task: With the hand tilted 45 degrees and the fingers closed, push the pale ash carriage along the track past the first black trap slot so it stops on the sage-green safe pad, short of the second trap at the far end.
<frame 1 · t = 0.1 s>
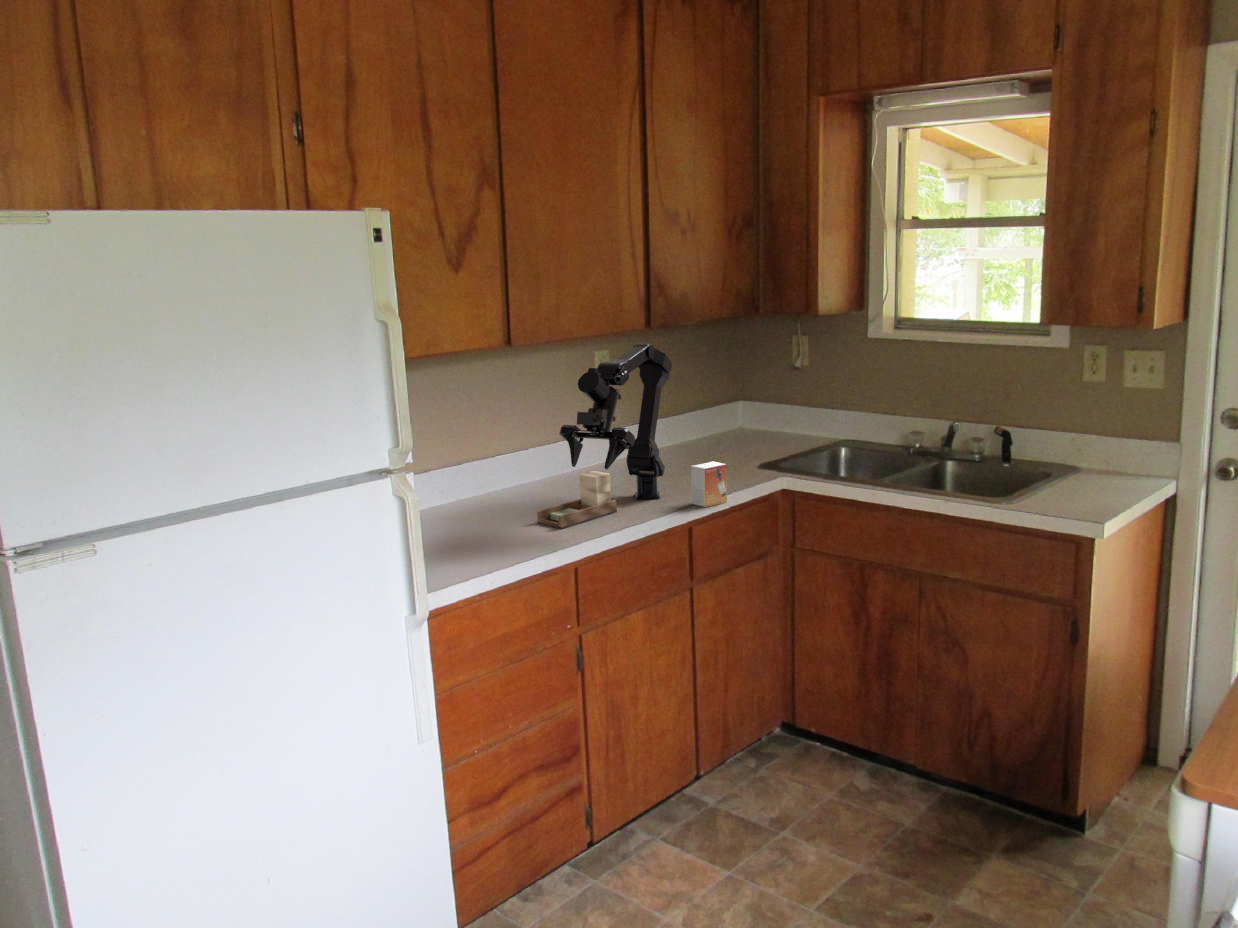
hand: (589, 467, 254), 15 cm above the worktop, tool tilted 35°, fingers open, 9 cm apart
track: (577, 517, 266), on the worktop
carriage: (595, 489, 269), point 6 cm above the worktop, slide at 0.0 cm
small box: (709, 504, 275), on the worktop
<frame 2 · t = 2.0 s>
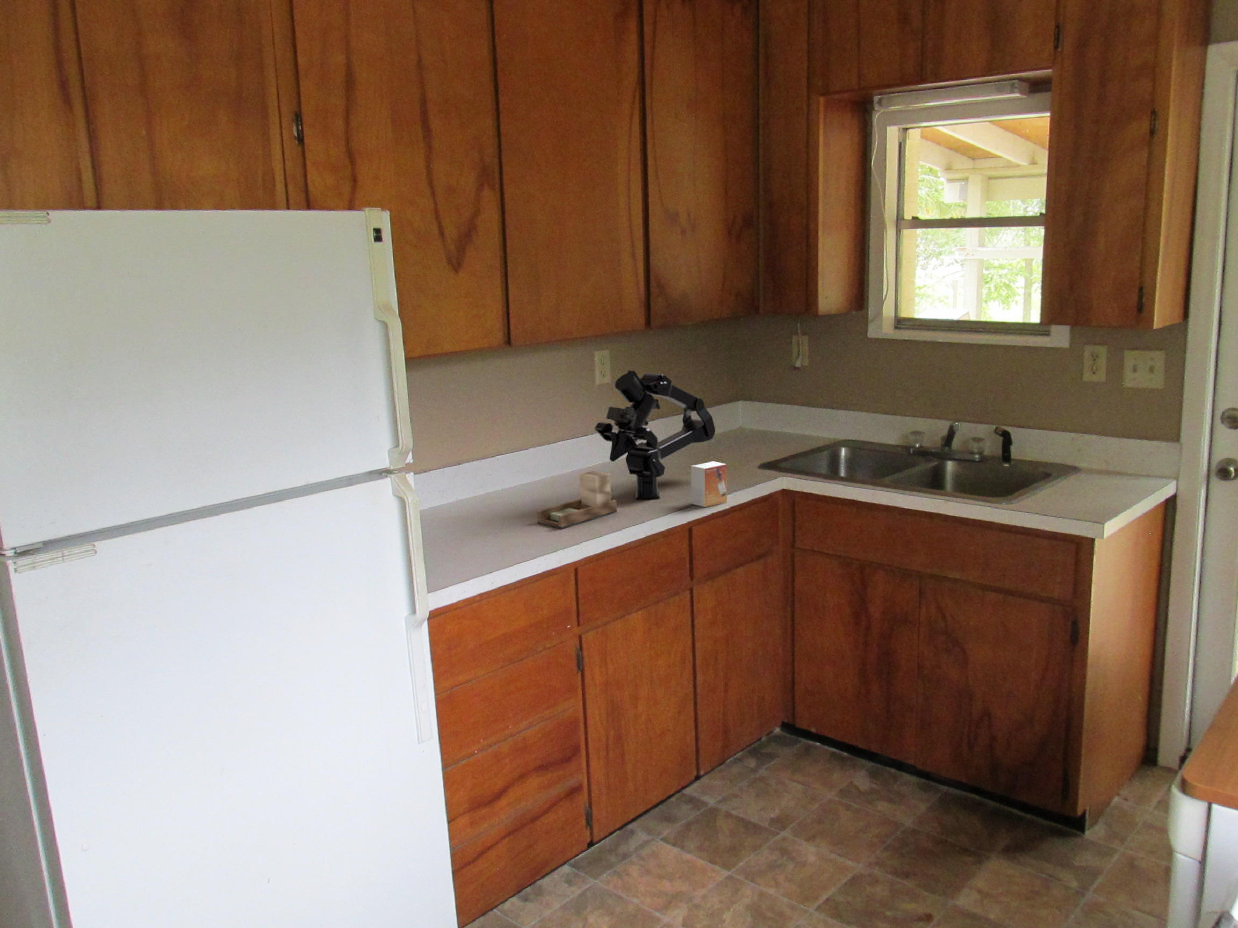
hand: (611, 460, 272), 13 cm above the worktop, tool tilted 45°, fingers closed
nothing on the worktop moved.
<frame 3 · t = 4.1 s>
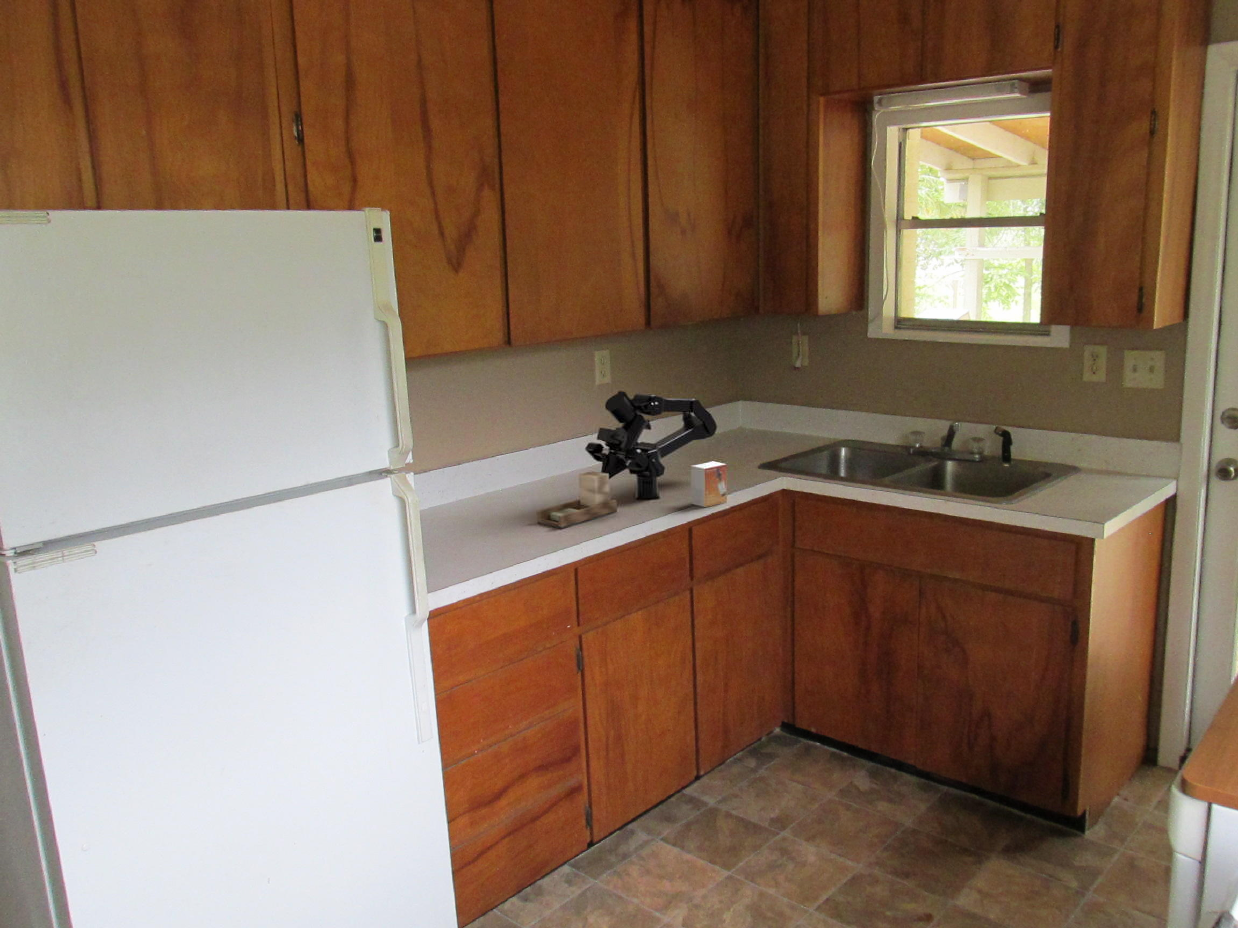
hand: (601, 481, 271), 8 cm above the worktop, tool tilted 45°, fingers closed, pressing on carriage
carriage: (594, 489, 269), point 6 cm above the worktop, slide at 0.4 cm, touching gripper
everything else where it was.
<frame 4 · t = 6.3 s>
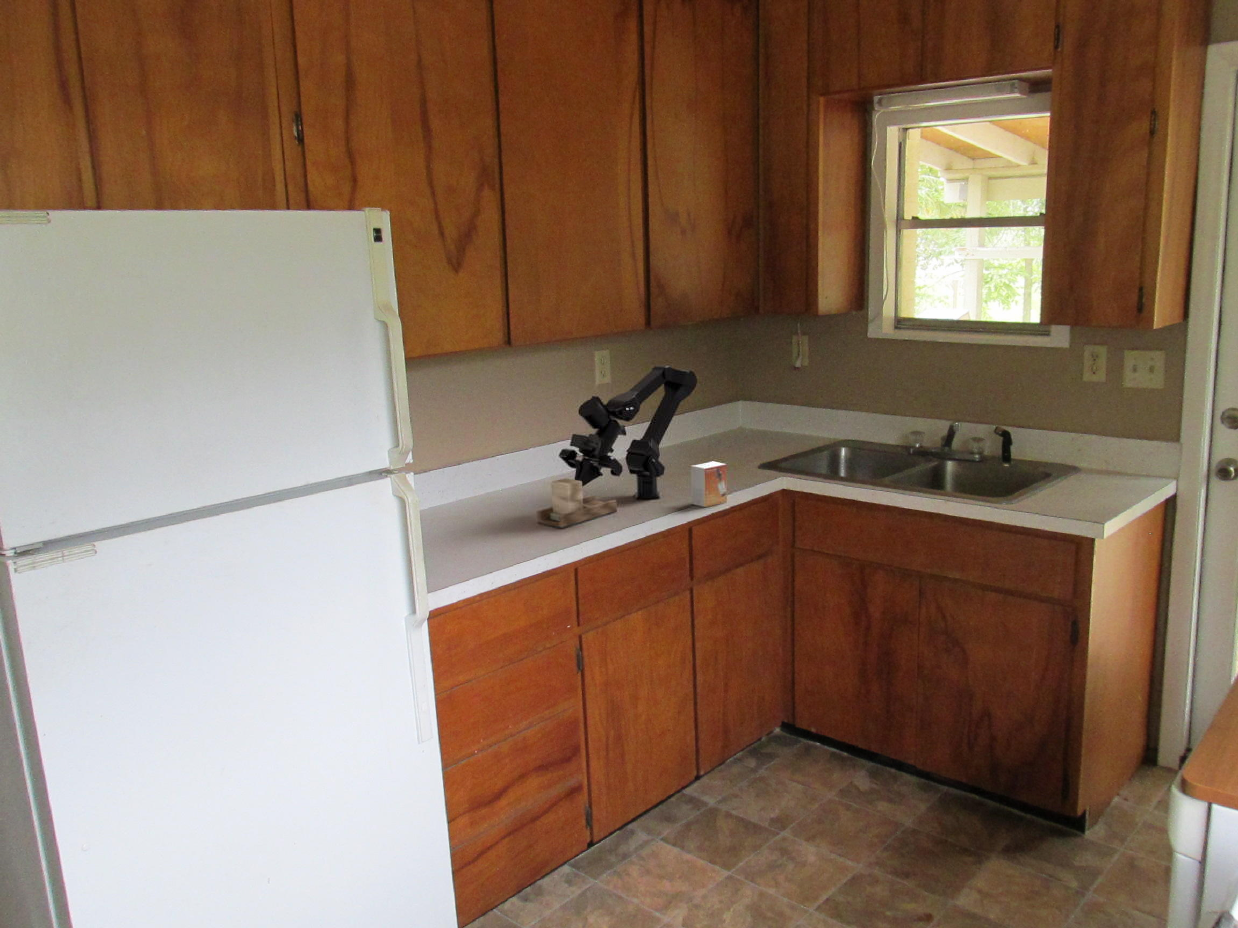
hand: (574, 489, 264), 8 cm above the worktop, tool tilted 45°, fingers closed, pressing on carriage
carriage: (567, 496, 262), point 6 cm above the worktop, slide at 10.0 cm, touching gripper
everything else where it was.
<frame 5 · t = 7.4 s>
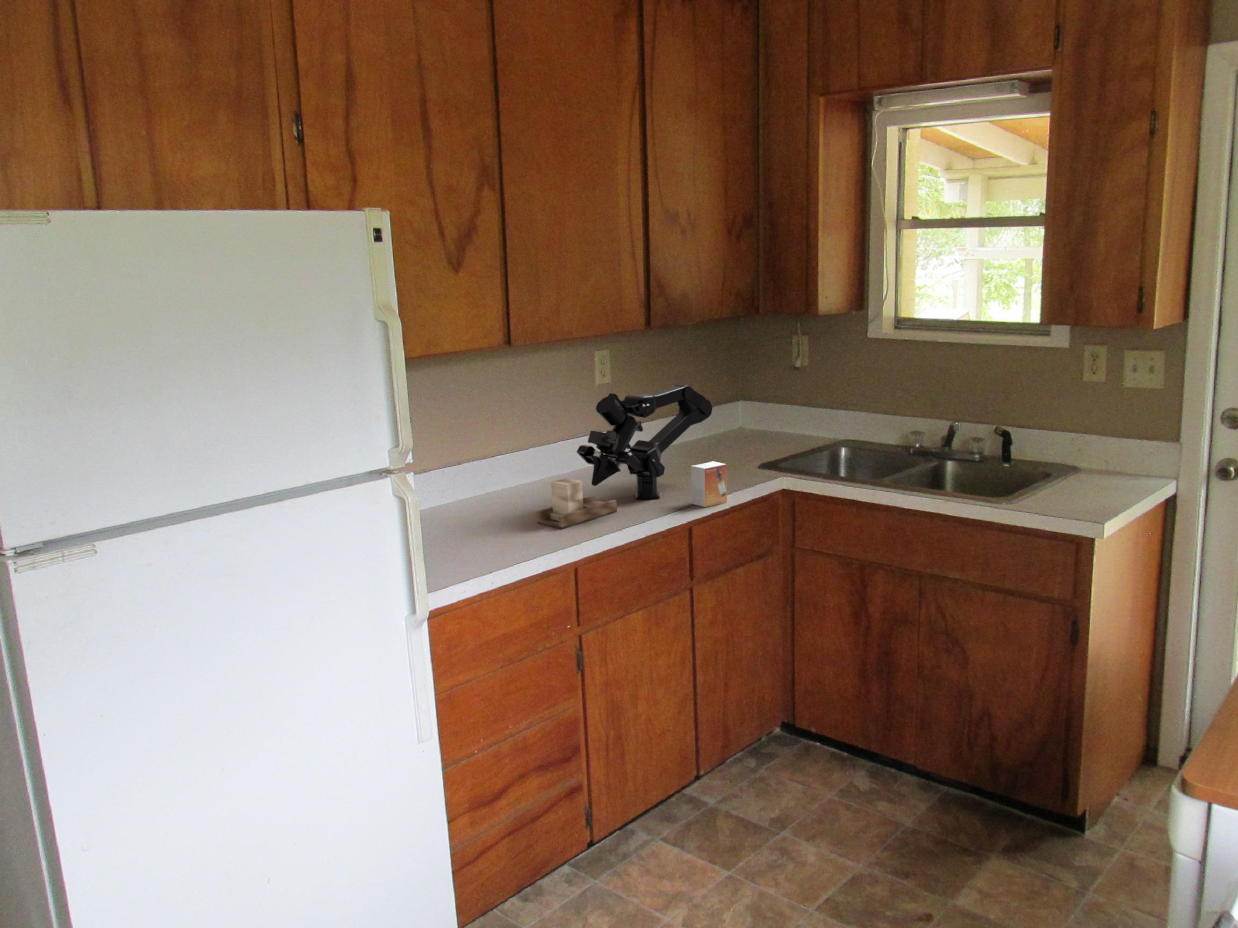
hand: (593, 485, 269), 7 cm above the worktop, tool tilted 45°, fingers closed
carriage: (567, 496, 262), point 6 cm above the worktop, slide at 10.0 cm
everything else where it was.
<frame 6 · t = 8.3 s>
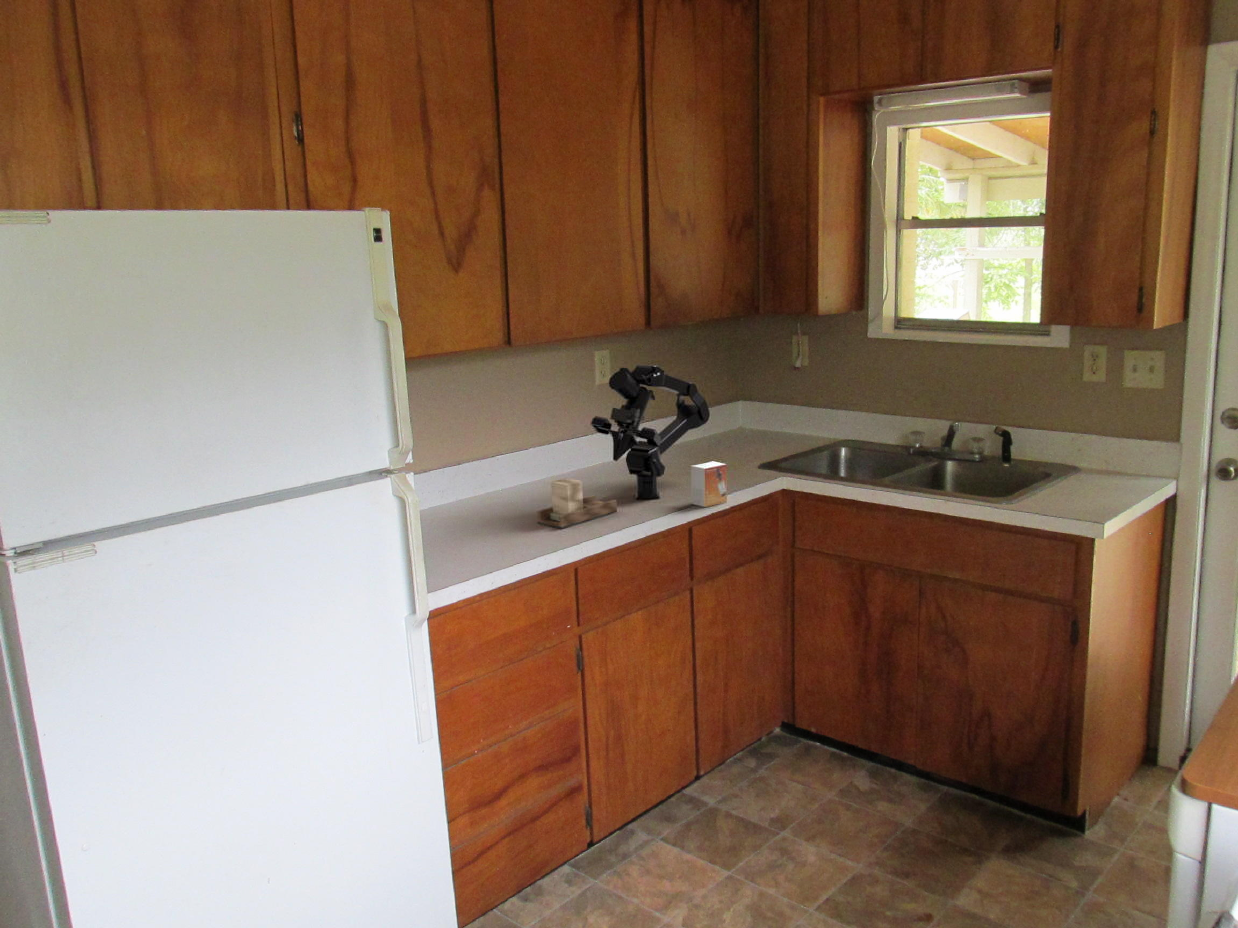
hand: (614, 460, 272), 13 cm above the worktop, tool tilted 35°, fingers closed
nothing on the worktop moved.
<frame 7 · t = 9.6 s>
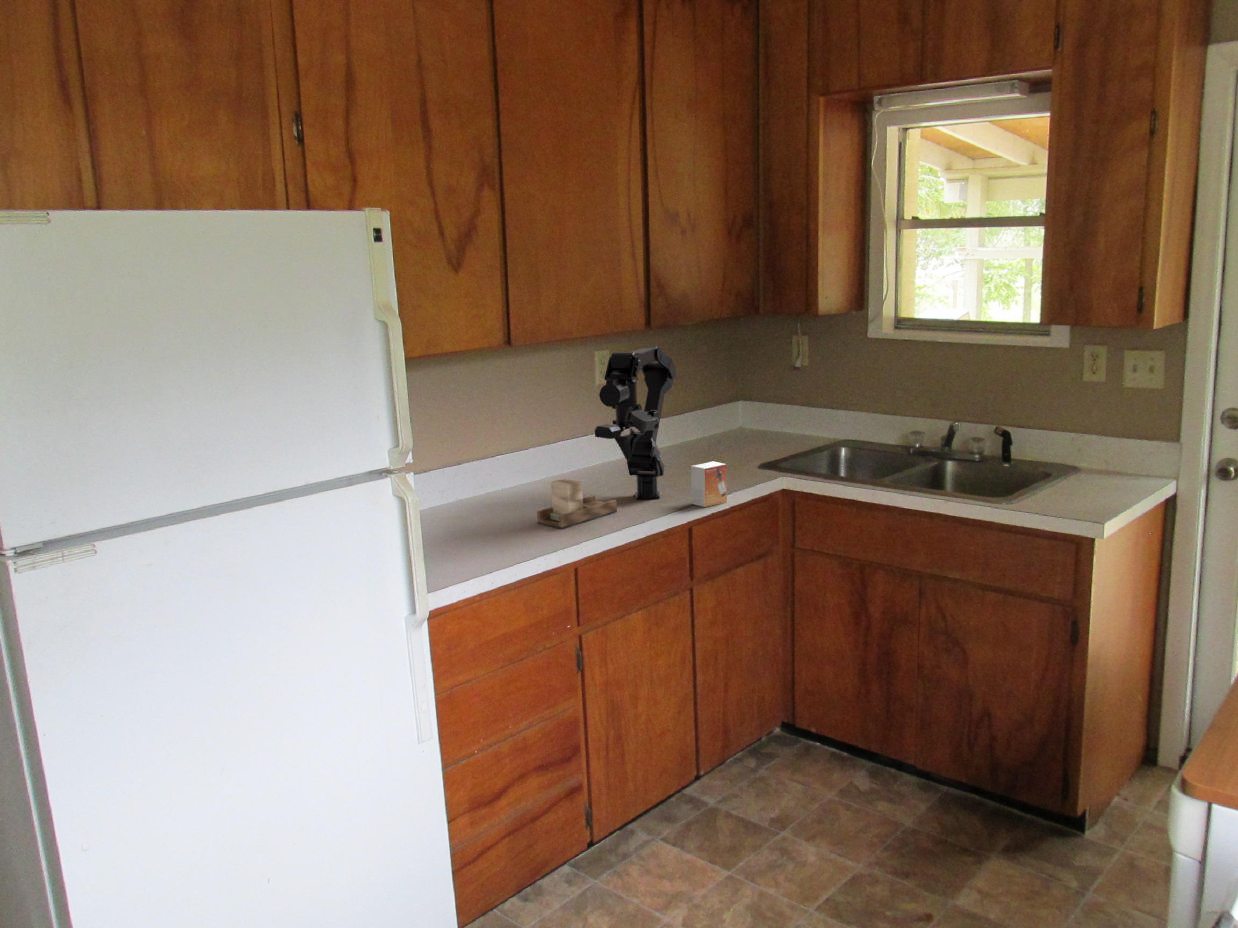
hand: (628, 459, 271), 13 cm above the worktop, tool pointing down, fingers closed
nothing on the worktop moved.
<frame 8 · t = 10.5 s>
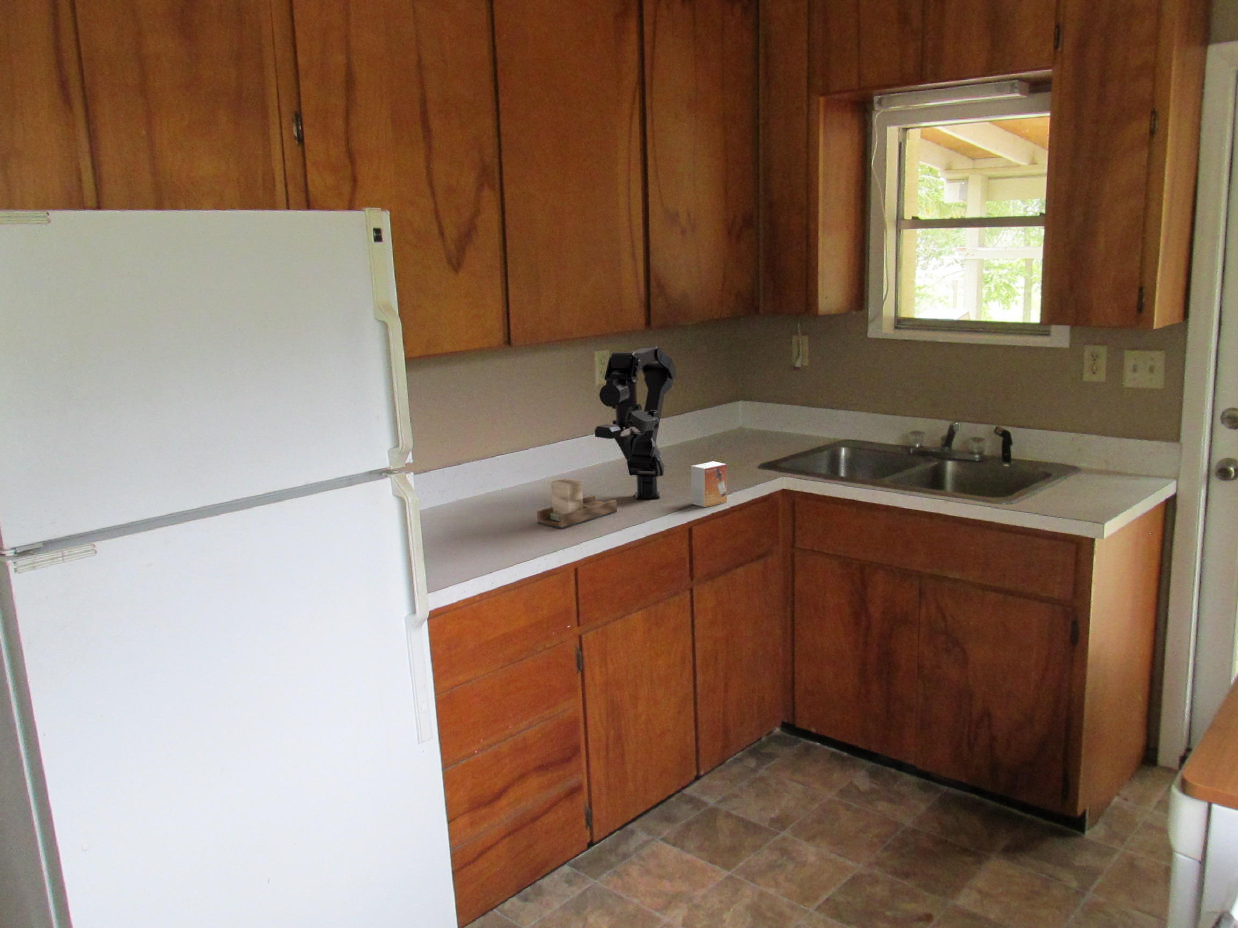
hand: (628, 459, 271), 13 cm above the worktop, tool pointing down, fingers closed
nothing on the worktop moved.
at the end: carriage slide at 10.0 cm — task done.
